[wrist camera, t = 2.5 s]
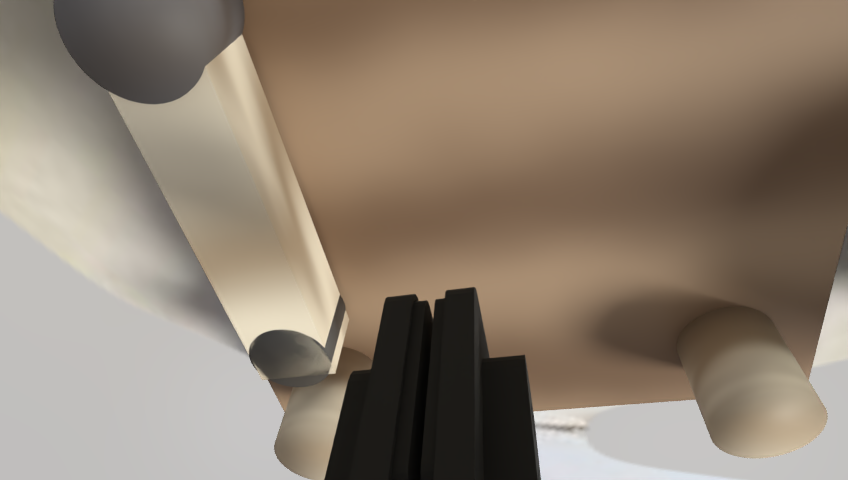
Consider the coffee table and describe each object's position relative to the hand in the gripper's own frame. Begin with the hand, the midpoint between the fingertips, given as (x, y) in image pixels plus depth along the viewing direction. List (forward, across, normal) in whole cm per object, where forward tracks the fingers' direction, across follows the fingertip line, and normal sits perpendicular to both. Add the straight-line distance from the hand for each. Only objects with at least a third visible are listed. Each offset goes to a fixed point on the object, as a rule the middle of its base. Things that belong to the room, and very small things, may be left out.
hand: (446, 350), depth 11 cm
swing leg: (+7, +6, -1) cm, 9 cm away
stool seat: (+10, -1, +1) cm, 10 cm away
